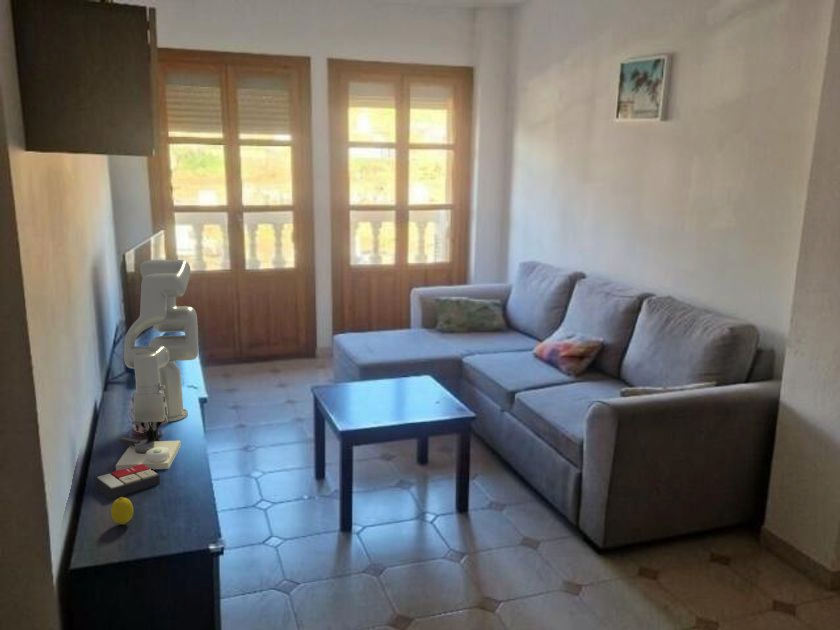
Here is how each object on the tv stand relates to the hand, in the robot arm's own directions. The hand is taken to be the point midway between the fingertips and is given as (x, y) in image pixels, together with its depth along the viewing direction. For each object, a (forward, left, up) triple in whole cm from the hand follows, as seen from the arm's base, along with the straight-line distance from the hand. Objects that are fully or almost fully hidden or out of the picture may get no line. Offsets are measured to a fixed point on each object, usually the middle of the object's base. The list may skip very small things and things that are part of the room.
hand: (152, 440), depth 235 cm
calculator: (+27, -1, -4) cm, 27 cm away
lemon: (+50, +5, -3) cm, 51 cm away
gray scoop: (+4, -4, -1) cm, 6 cm away
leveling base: (+7, +1, -3) cm, 8 cm away
